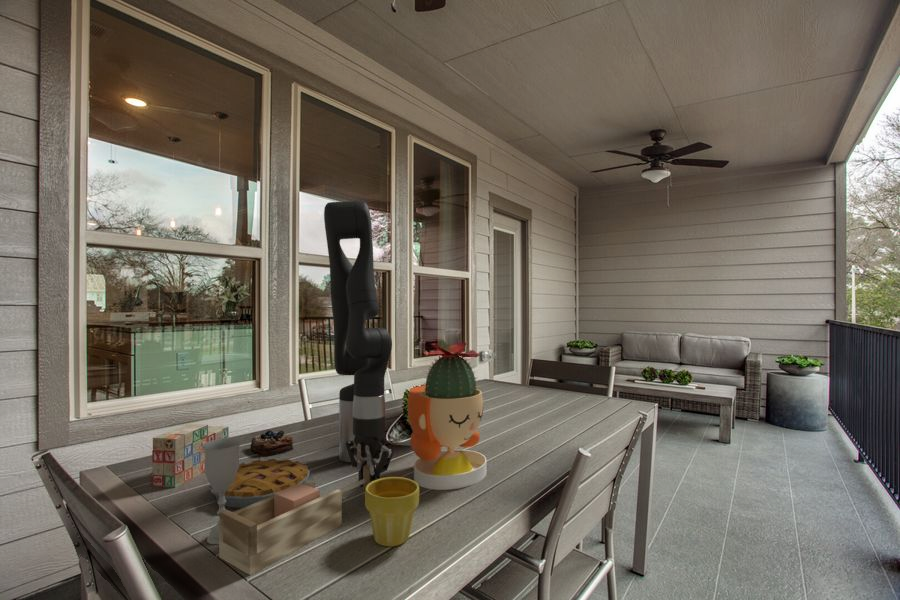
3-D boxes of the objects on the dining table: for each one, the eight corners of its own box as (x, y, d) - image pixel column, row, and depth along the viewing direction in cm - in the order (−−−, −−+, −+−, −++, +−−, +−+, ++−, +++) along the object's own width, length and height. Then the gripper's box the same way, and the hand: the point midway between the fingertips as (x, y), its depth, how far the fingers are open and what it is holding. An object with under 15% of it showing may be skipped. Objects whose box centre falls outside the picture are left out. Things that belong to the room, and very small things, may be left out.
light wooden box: (310, 513, 95) (311, 475, 95) (341, 525, 90) (341, 485, 90) (219, 557, 79) (219, 511, 79) (250, 575, 73) (250, 526, 74)
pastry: (261, 459, 129) (261, 439, 129) (246, 449, 137) (246, 430, 138) (297, 450, 136) (297, 431, 136) (281, 441, 145) (281, 423, 145)
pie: (263, 519, 93) (264, 495, 93) (187, 503, 100) (187, 481, 100) (327, 480, 113) (327, 461, 113) (259, 469, 121) (259, 451, 121)
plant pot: (420, 523, 91) (420, 475, 91) (418, 551, 80) (418, 497, 81) (369, 524, 90) (369, 476, 91) (360, 553, 80) (360, 498, 80)
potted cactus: (501, 471, 119) (501, 341, 120) (444, 497, 103) (444, 346, 103) (443, 452, 134) (444, 336, 134) (385, 473, 118) (386, 341, 118)
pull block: (364, 483, 106) (364, 457, 106) (382, 489, 103) (382, 462, 103) (274, 525, 86) (274, 493, 86) (293, 534, 83) (294, 501, 83)
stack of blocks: (209, 457, 130) (209, 415, 130) (229, 458, 129) (229, 415, 130) (151, 487, 109) (152, 436, 109) (174, 488, 108) (175, 437, 108)
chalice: (211, 528, 89) (212, 438, 89) (247, 526, 89) (247, 437, 90) (193, 548, 82) (194, 450, 82) (232, 546, 82) (232, 449, 82)
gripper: (402, 414, 103) (402, 489, 103) (359, 406, 111) (359, 476, 110) (380, 421, 97) (380, 501, 96) (336, 412, 104) (336, 486, 104)
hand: (369, 487), depth 103 cm, fingers closed on pull block, 3 cm apart
